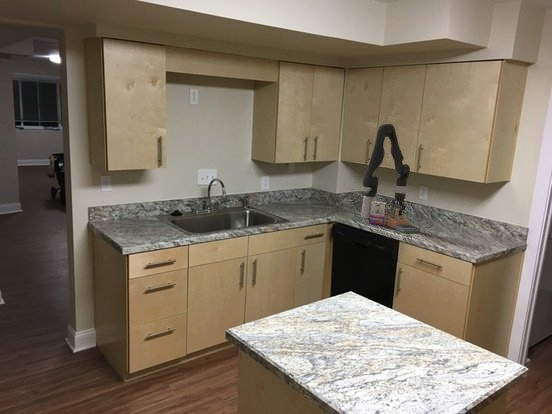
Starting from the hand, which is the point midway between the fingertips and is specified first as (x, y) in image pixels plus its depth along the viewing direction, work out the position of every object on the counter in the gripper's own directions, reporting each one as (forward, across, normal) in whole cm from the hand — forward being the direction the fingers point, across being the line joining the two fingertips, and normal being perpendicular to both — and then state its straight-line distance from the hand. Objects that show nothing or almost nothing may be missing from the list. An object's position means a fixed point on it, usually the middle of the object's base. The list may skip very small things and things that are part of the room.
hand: (397, 215), depth 331 cm
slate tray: (+9, +11, 0) cm, 14 cm away
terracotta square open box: (+9, 0, 0) cm, 9 cm away
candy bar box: (+9, -10, -10) cm, 17 cm away
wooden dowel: (+9, 0, 0) cm, 9 cm away
